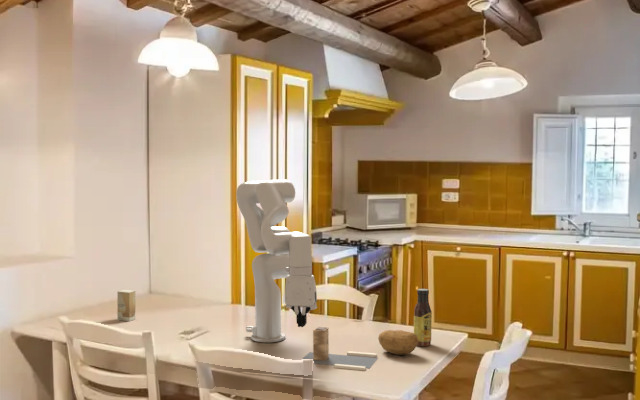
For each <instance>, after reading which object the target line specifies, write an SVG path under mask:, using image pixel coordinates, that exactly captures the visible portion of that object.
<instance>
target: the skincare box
mask: <svg viewBox="0 0 640 400" xmlns="http://www.w3.org/2000/svg"><path fill="white" fill-rule="evenodd" d="M116 302H117V312H116V313H117V321H123V322H124V321H126V322H132V321H134V320H136V290H133V289H132V290H131V289H121V290H117V301H116Z"/></svg>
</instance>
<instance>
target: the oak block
mask: <svg viewBox="0 0 640 400" xmlns="http://www.w3.org/2000/svg"><path fill="white" fill-rule="evenodd" d="M312 336H313V337H312V338H313V339H312V344H313V345H312V347H313V348H312V350H313V351H312V352H313V360H322V361H325V360H326V359H327V358H328V357H329V354H330V353H329V351H330V350H329V349H330V348H329V347H330V346H329V344H330V343H329V327H323V326H316V327H315V328H314V329H312Z"/></svg>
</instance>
